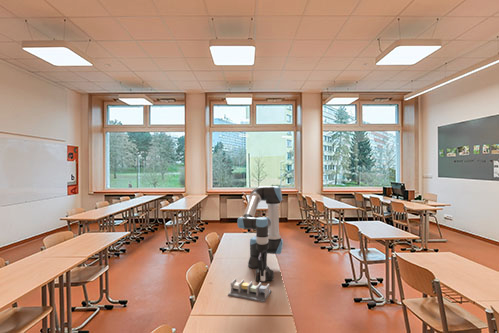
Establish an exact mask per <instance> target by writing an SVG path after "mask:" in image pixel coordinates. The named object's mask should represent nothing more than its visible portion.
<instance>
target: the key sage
mask: <svg viewBox="0 0 499 333" xmlns="http://www.w3.org/2000/svg"><path fill="white" fill-rule="evenodd" d="M256 287H257V285H255V284H252V286H251V287H250V291H251V292H256Z"/></svg>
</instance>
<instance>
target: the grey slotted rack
mask: <svg viewBox="0 0 499 333" xmlns="http://www.w3.org/2000/svg"><path fill="white" fill-rule="evenodd" d="M235 282H237V278H236V277H234V279H233V280H232V281H230V291H229V293H228V295H227V296H230V297H235V298H239V299H240V298H241V299H245V300H250V301H256V302H261V303H265V302H266V301H267V299H268V297H269V296H270V294H271V293H272V289H270V283H267V285H265V286H266V287H265V293H264V292H259V288H260V286H261V285H262V281H261V282H260V281H259V283H258V284H257V285H256V286H257V287H256V292H251V291H250V287H251V286H252V285H253V281H252V280H251V281H249V282H248V283H249V284H248V285H247V289H242V286H241V285H242V284H243V283H244V282H245V279H242V280H241V281H240V282H238V283H239V284H238V285H239V289H235V288H233V284H234V283H235Z"/></svg>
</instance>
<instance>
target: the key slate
mask: <svg viewBox="0 0 499 333" xmlns="http://www.w3.org/2000/svg"><path fill="white" fill-rule="evenodd" d="M266 286H267V285H262V284H261V286H260V288H259V292H264V293H265V287H266Z"/></svg>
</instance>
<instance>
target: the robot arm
mask: <svg viewBox="0 0 499 333" xmlns="http://www.w3.org/2000/svg"><path fill="white" fill-rule="evenodd" d="M248 199H249V200H248V202H247V205H246V207H245V210H244V212H243V216H240V217H238V218H237V221H236V222H237V228H239V229H243V230H255V231H256V233H255V236H252V237H251V238H250V239H249V259H248V262H247V264H248V265H247V266H248V268H250V269H254V270H257V269H259V271H260V278H261V282H265V269H267V268H266V266H268V263H267V262H268V254H271V255H280V254H282V252H283V245H284V239H283V238H282V236H281V235H280V215H279V214H280V212H279V208H280V207H279V205H280V204H281V202H282V201H283V193H282V189H281V187H280V185H279V186H278V185H261V186H258V187H256V188H254V189H252V191H251V192H250V193H249V196H248ZM262 201H264V202H265V204H266V205H267V216H262V217H261V216H260V217H259V216H258V217H255V215H256V212H257V209H258V206H259V203H260V202H262Z"/></svg>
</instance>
